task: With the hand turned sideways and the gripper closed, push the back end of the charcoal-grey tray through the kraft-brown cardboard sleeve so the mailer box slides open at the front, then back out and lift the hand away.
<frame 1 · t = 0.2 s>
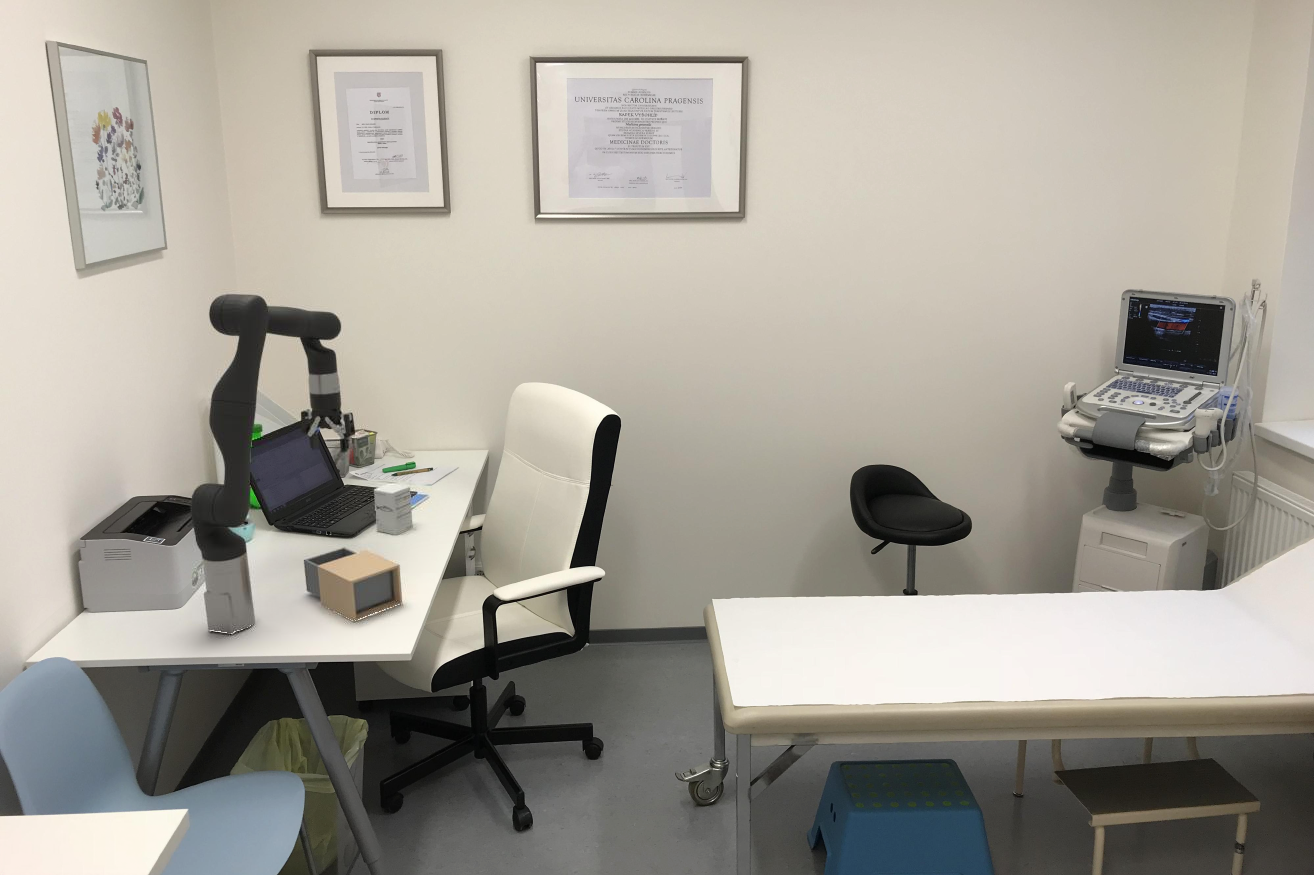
hand: (330, 450, 263), 29 cm above the table, tool pointing down, fingers open, 8 cm apart
mailer tray: (348, 579, 242), point 5 cm above the table, slide at 0.0 cm
supplement box: (395, 530, 289), on the table
mailer sleeve: (361, 604, 240), on the table
tablet computer: (397, 506, 310), on the table
plastic bottle: (263, 505, 311), on the table
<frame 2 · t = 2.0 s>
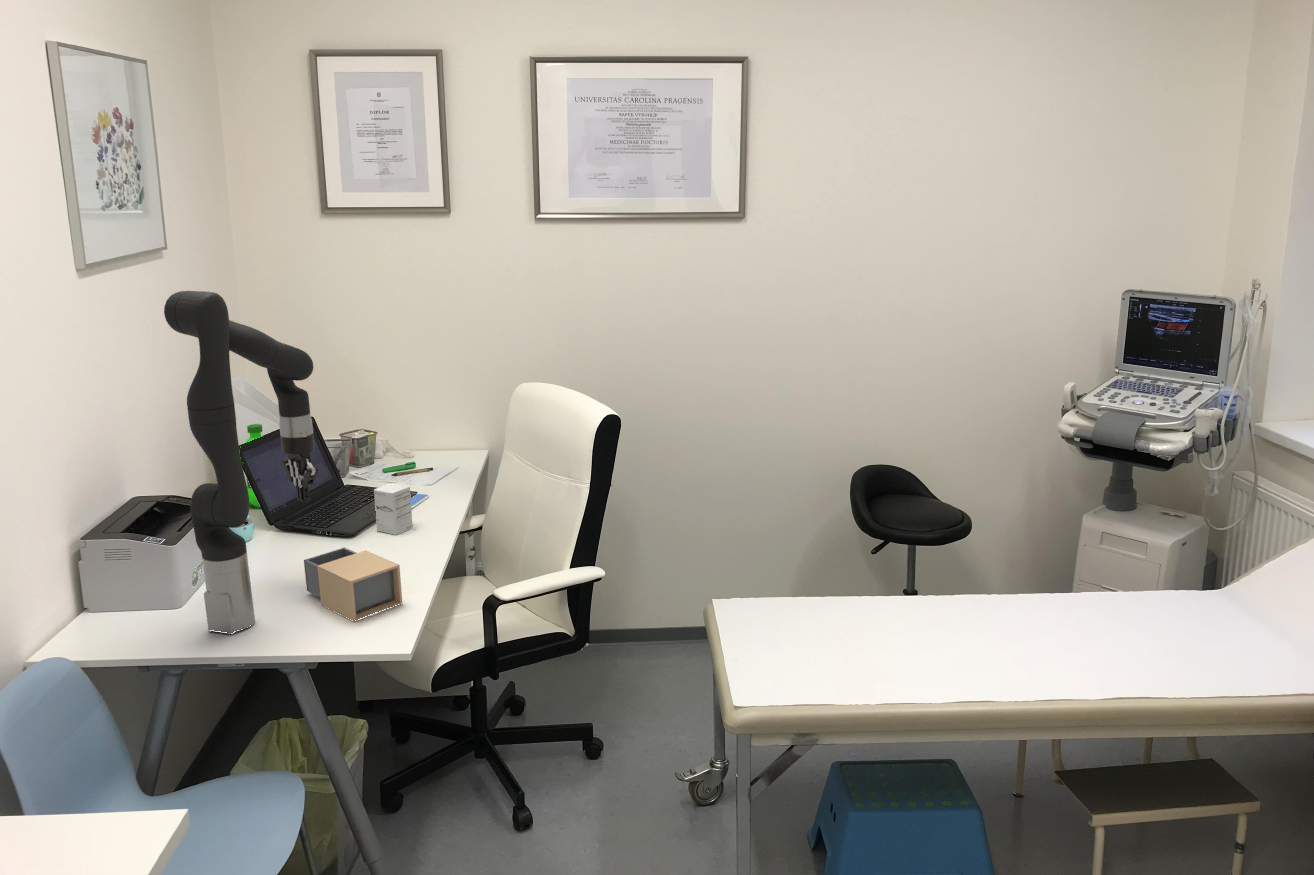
hand: (303, 500, 249), 21 cm above the table, tool pointing down, fingers closed
nothing on the table moved.
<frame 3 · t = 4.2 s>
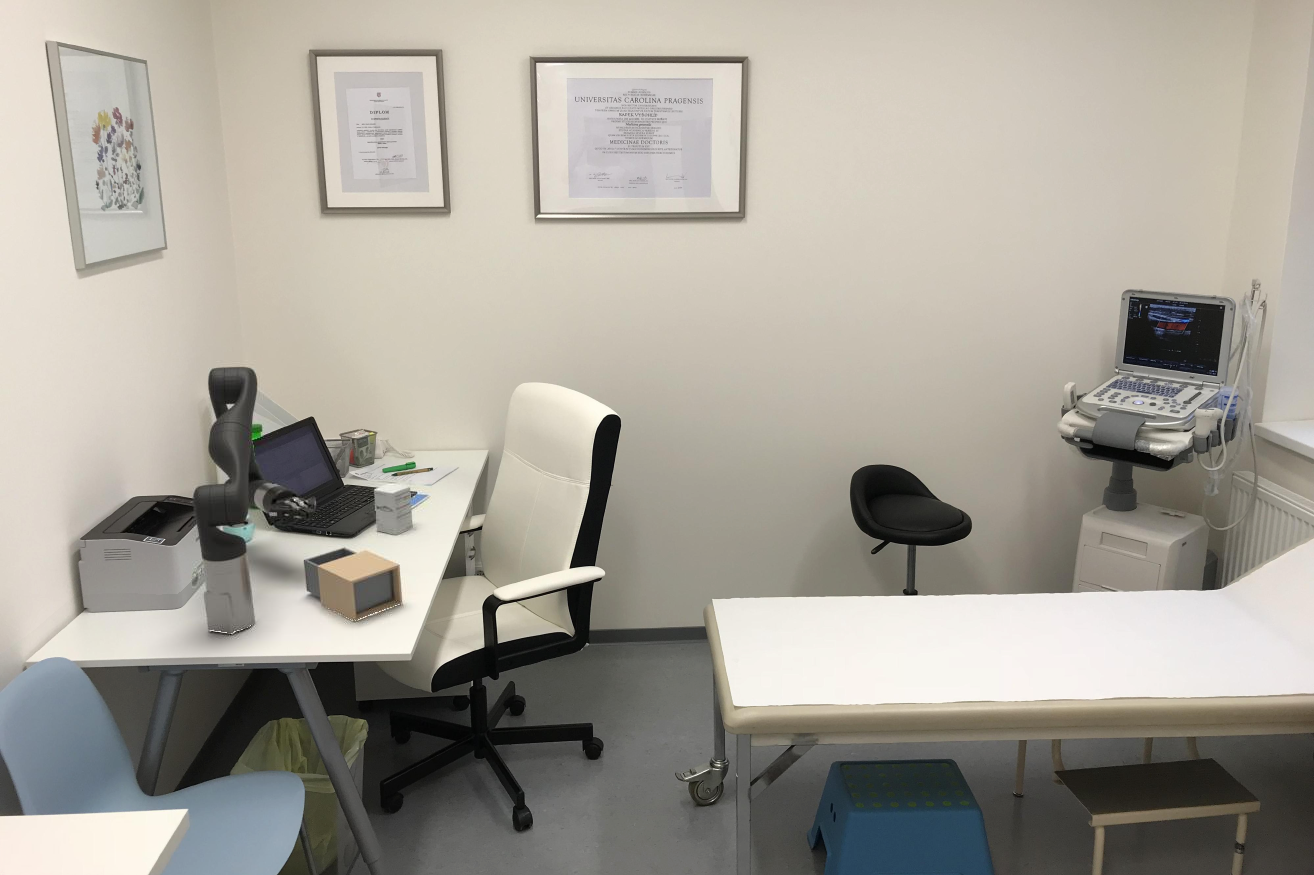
hand: (311, 515, 248), 18 cm above the table, tool horizontal, fingers closed
nothing on the table moved.
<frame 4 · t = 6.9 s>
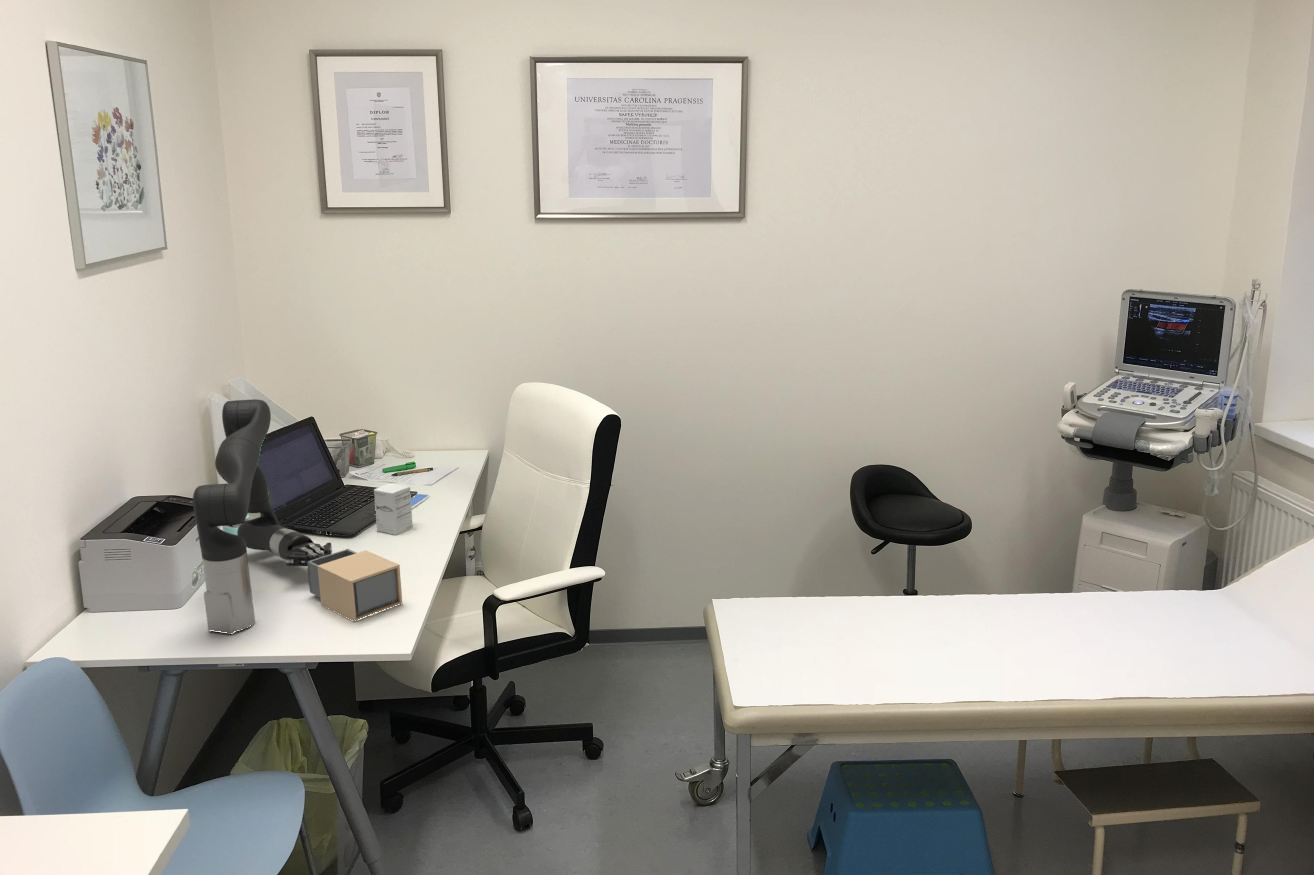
hand: (328, 562, 247), 7 cm above the table, tool horizontal, fingers closed
mailer tray: (351, 581, 241), point 5 cm above the table, slide at 1.5 cm, touching gripper
everything else where it was.
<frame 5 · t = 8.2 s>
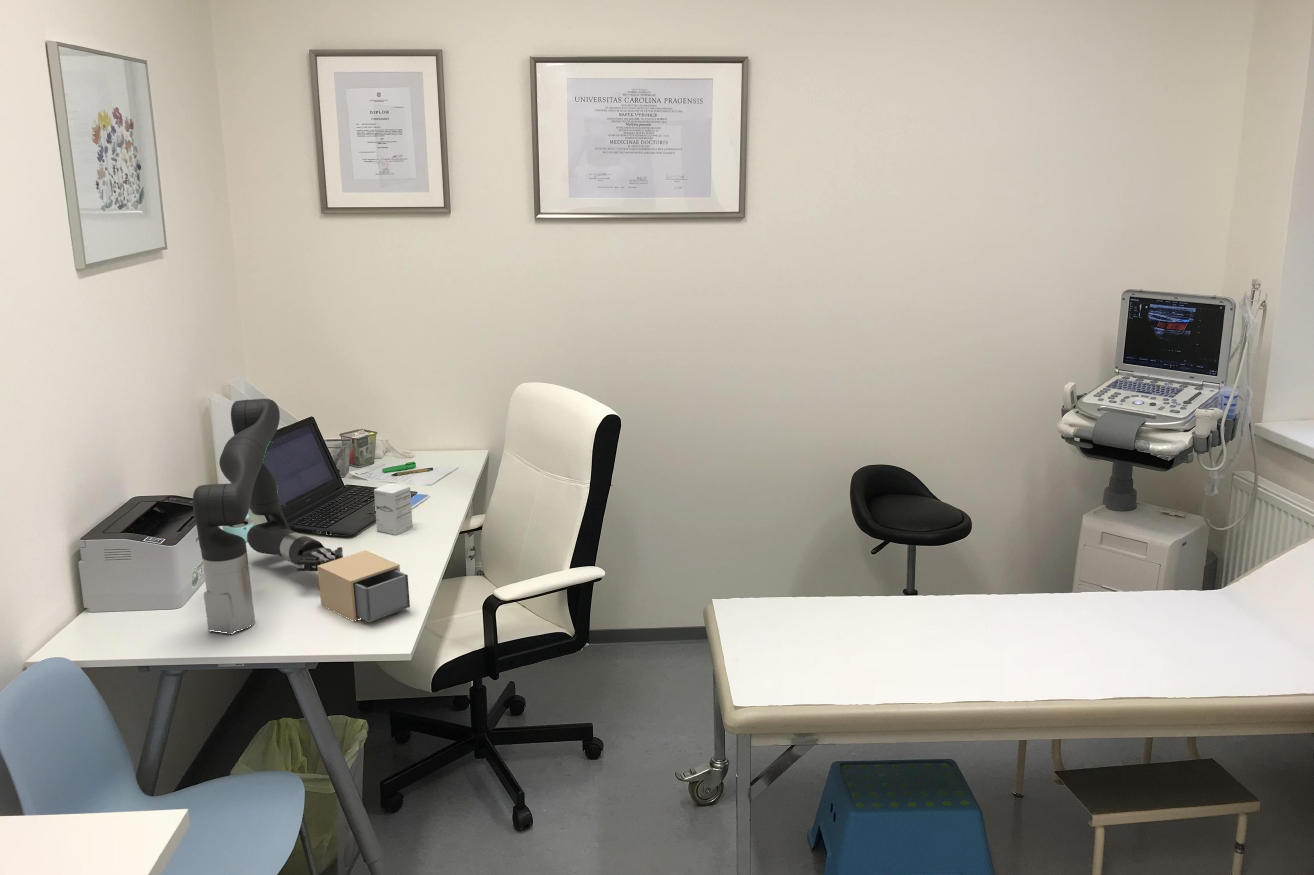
hand: (339, 567, 244), 7 cm above the table, tool horizontal, fingers closed
mailer tray: (363, 586, 238), point 5 cm above the table, slide at 6.5 cm, touching gripper
everything else where it was.
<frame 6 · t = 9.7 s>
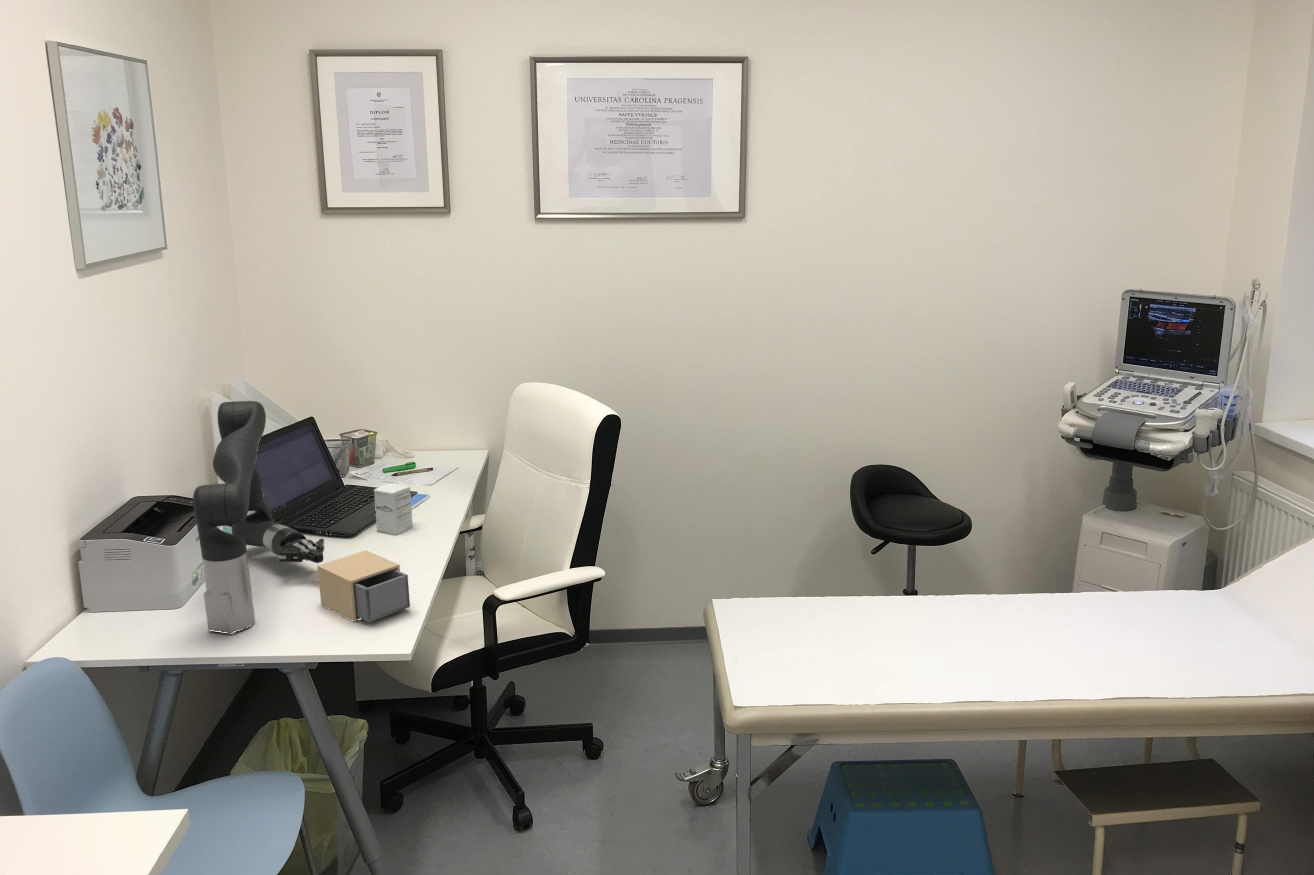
hand: (320, 558, 249), 7 cm above the table, tool horizontal, fingers closed
mailer tray: (363, 586, 238), point 5 cm above the table, slide at 6.5 cm
everything else where it was.
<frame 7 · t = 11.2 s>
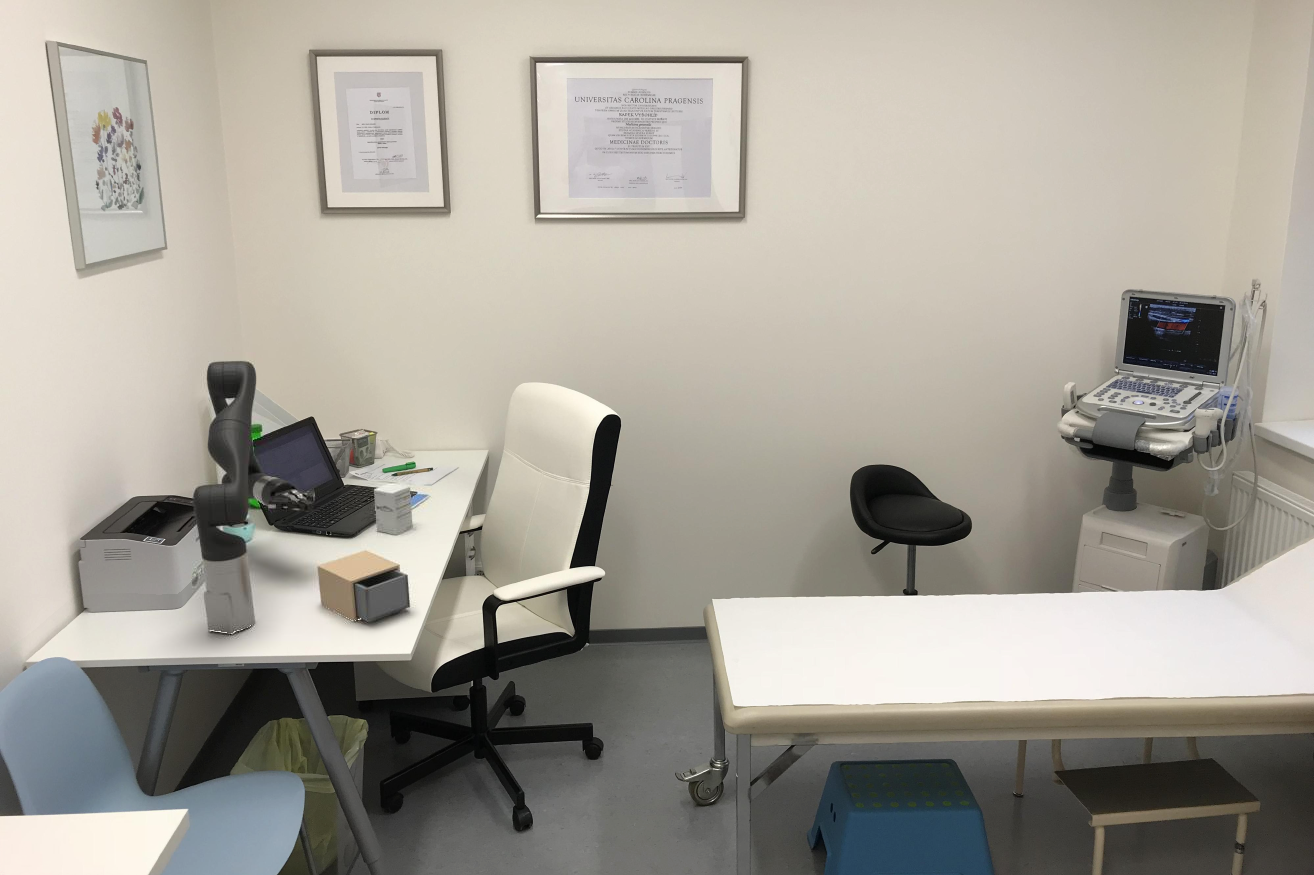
hand: (310, 507, 247), 20 cm above the table, tool horizontal, fingers closed
nothing on the table moved.
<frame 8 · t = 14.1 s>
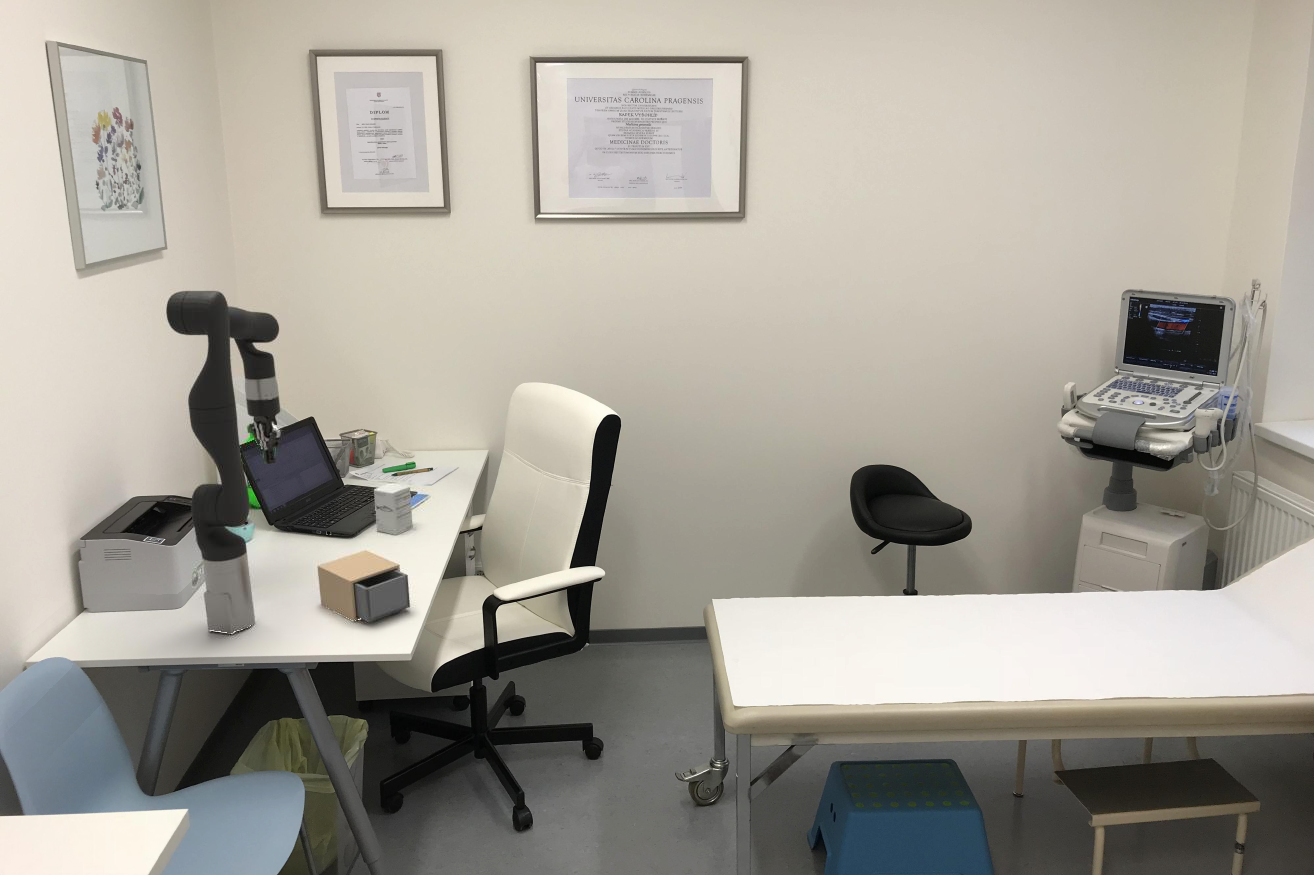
hand: (269, 463, 252), 29 cm above the table, tool pointing down, fingers closed
nothing on the table moved.
at the end: mailer tray slide at 6.5 cm; supplement box moved 0.2 cm from its start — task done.
